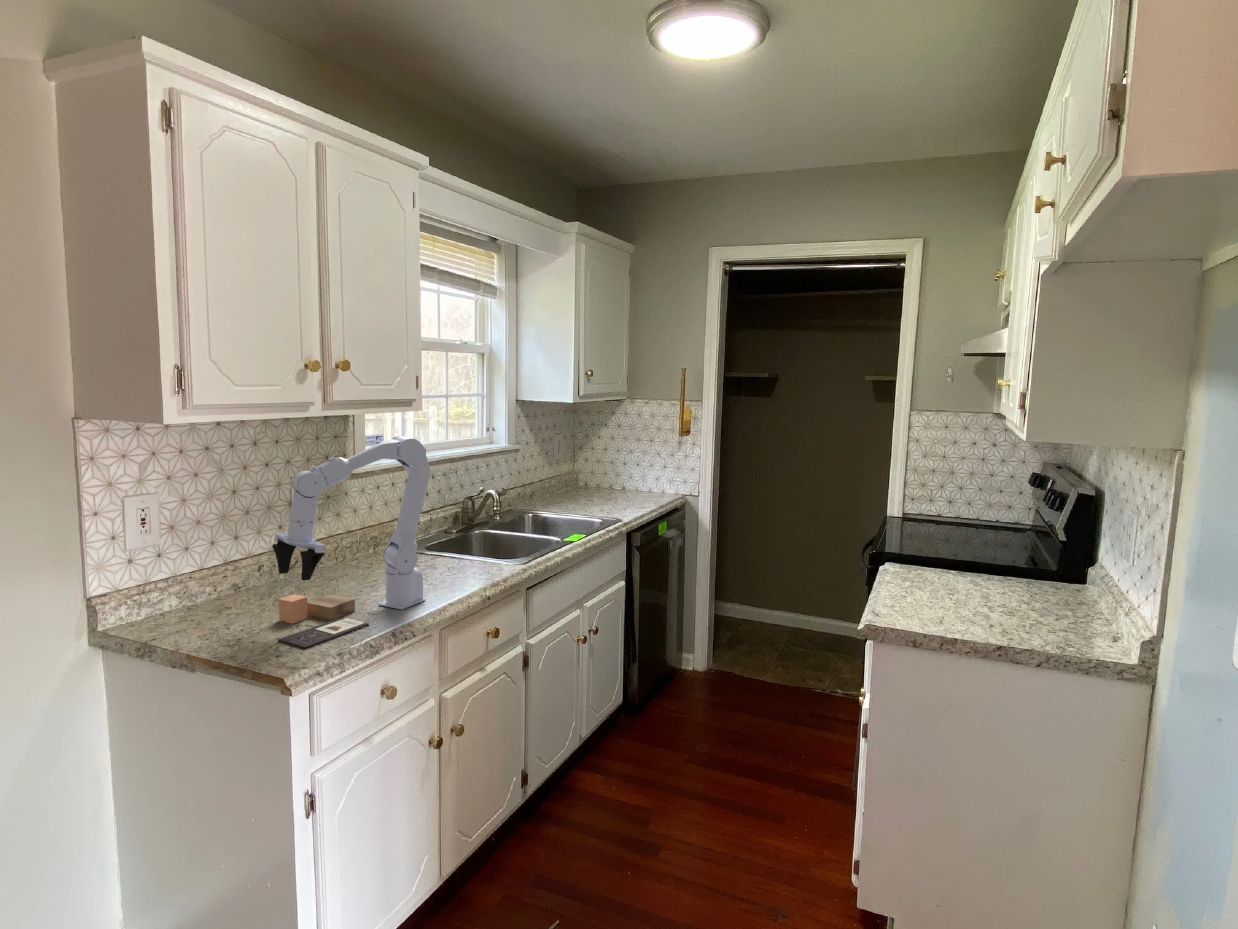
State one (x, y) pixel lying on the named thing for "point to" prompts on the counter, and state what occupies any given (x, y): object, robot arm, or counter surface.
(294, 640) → the chocolate bar
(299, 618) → the terracotta block
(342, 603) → the walnut base block
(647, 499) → the counter surface
